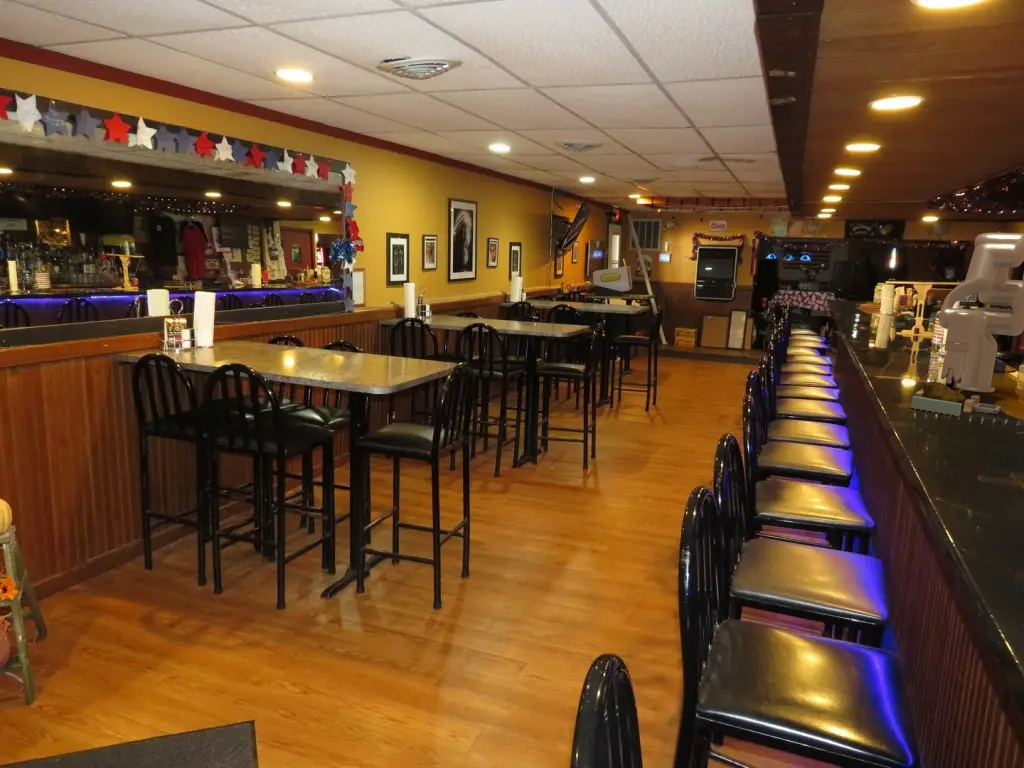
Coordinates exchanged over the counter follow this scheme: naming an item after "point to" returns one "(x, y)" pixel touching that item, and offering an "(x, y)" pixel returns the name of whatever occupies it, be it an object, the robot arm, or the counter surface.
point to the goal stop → (936, 405)
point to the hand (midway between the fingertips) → (948, 398)
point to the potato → (942, 393)
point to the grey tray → (986, 408)
